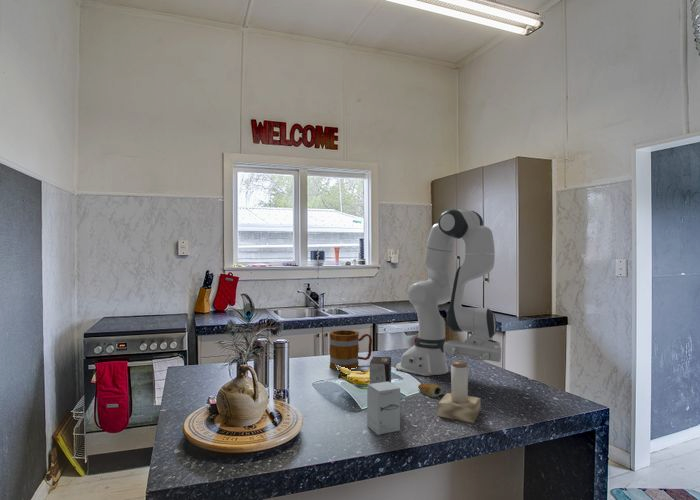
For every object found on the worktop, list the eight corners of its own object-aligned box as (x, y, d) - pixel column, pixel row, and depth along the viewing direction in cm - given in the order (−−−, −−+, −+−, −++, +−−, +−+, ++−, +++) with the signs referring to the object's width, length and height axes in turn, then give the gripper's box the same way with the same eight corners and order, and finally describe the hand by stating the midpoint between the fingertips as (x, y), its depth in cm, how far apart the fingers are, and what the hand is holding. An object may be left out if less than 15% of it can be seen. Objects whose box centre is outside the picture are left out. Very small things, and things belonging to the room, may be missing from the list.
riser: (437, 416, 134) (437, 402, 134) (447, 404, 144) (447, 392, 144) (473, 422, 129) (473, 408, 129) (480, 410, 139) (480, 397, 139)
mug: (333, 371, 182) (333, 336, 182) (326, 363, 195) (326, 330, 195) (376, 368, 187) (376, 334, 187) (367, 360, 200) (367, 328, 200)
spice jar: (449, 401, 135) (449, 363, 135) (453, 396, 140) (453, 359, 140) (465, 404, 133) (466, 365, 133) (469, 398, 138) (469, 361, 138)
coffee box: (388, 414, 136) (388, 363, 135) (368, 412, 137) (368, 362, 137) (391, 404, 144) (391, 356, 144) (373, 402, 146) (373, 355, 146)
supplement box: (378, 435, 120) (378, 391, 120) (366, 425, 127) (366, 383, 127) (400, 431, 123) (400, 387, 123) (388, 421, 130) (388, 380, 130)
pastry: (413, 391, 158) (413, 381, 158) (426, 388, 162) (426, 378, 162) (432, 398, 150) (432, 388, 150) (445, 395, 154) (445, 384, 154)
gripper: (449, 334, 165) (438, 342, 153) (504, 343, 156) (498, 351, 143) (448, 350, 165) (438, 359, 153) (503, 360, 156) (497, 370, 144)
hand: (467, 355), depth 148 cm, fingers open, 8 cm apart
